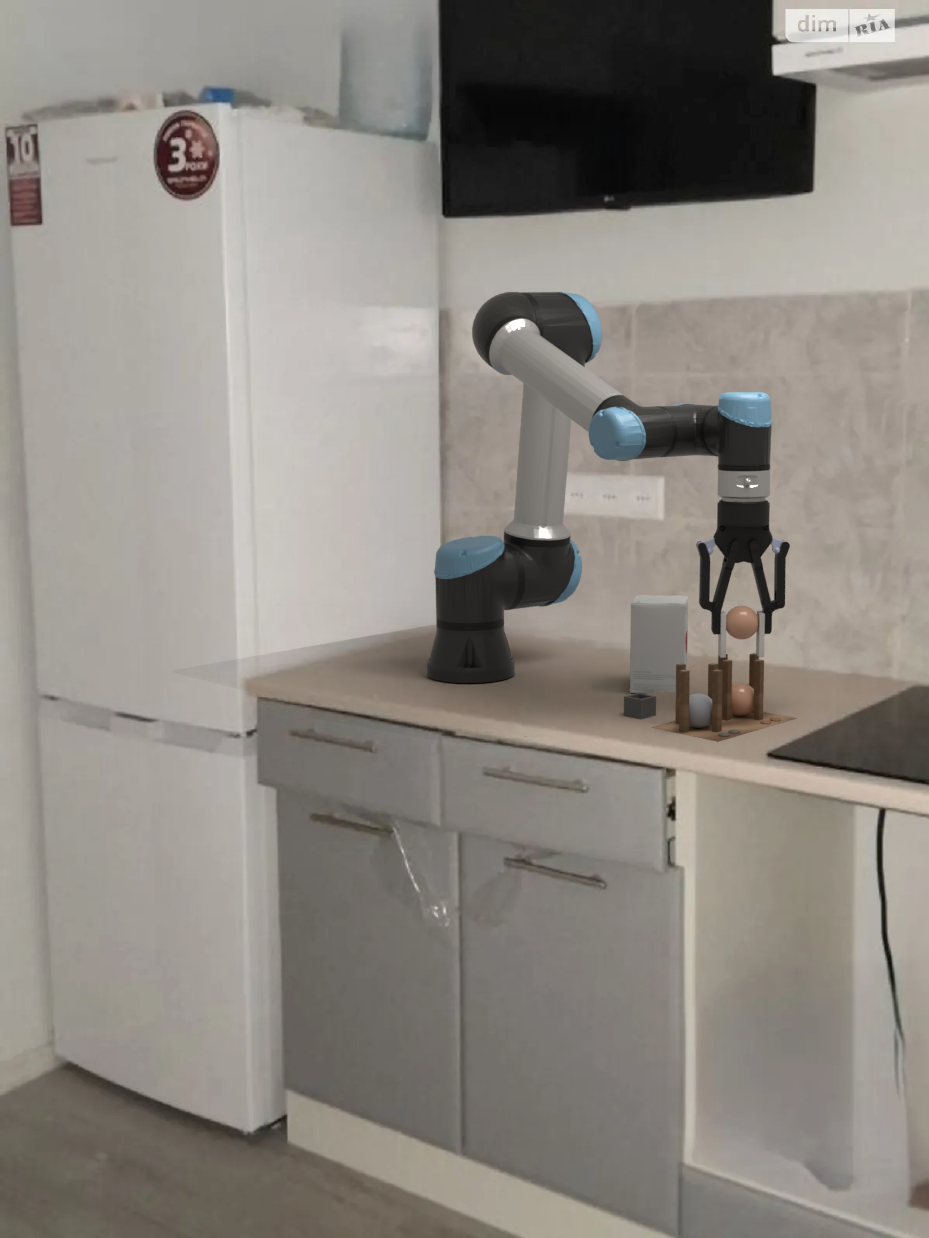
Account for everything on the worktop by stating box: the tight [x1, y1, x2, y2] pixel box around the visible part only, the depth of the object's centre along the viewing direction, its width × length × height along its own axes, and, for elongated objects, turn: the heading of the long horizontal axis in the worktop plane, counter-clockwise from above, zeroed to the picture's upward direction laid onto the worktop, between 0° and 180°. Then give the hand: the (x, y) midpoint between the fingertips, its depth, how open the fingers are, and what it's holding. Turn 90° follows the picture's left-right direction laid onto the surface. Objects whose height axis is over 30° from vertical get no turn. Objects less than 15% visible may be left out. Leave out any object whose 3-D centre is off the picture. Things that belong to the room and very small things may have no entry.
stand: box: [623, 693, 657, 720], centre depth 228 cm, size 3×3×4 cm
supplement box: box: [629, 594, 689, 695], centre depth 248 cm, size 9×9×15 cm
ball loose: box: [726, 605, 759, 640], centre depth 225 cm, size 5×5×5 cm
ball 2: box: [731, 682, 754, 716], centre depth 227 cm, size 5×5×5 cm
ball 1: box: [689, 692, 712, 728], centre depth 220 cm, size 5×5×5 cm
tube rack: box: [651, 652, 798, 743], centre depth 223 cm, size 12×19×10 cm, turn 133°
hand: (740, 655), depth 226 cm, fingers closed on ball loose, 5 cm apart
